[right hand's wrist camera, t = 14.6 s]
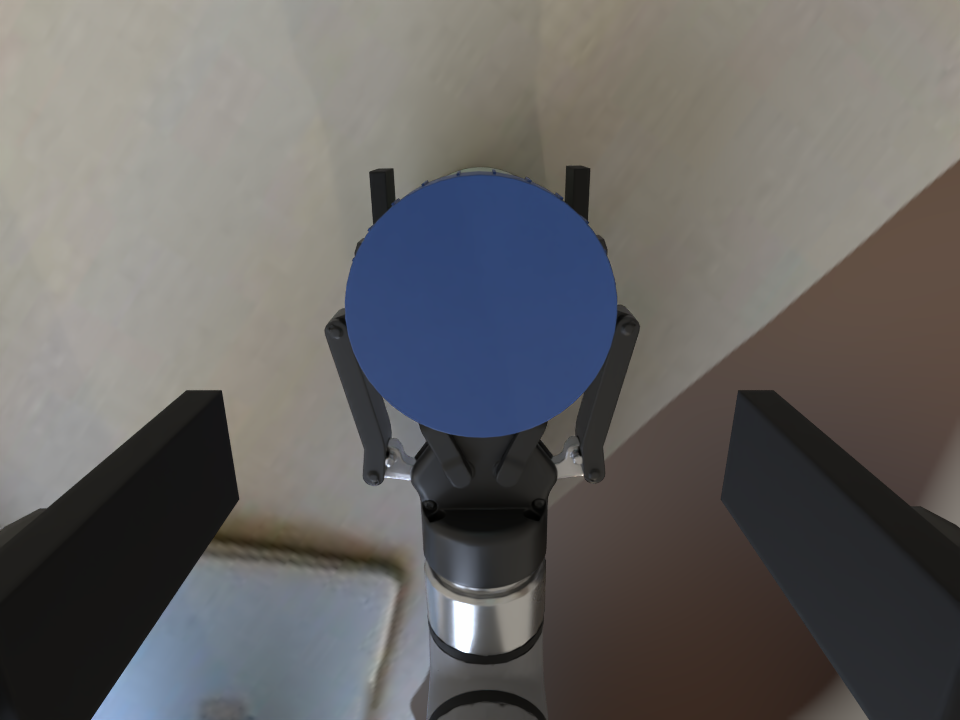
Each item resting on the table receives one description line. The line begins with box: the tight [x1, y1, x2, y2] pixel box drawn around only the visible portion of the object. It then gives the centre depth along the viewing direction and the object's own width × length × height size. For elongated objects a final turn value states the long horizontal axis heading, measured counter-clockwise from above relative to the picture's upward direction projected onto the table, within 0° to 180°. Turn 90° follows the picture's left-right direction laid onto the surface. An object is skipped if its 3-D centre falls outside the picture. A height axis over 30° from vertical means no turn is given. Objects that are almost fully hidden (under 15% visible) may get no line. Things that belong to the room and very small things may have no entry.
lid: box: [345, 169, 617, 438], centre depth 22 cm, size 10×10×2 cm
